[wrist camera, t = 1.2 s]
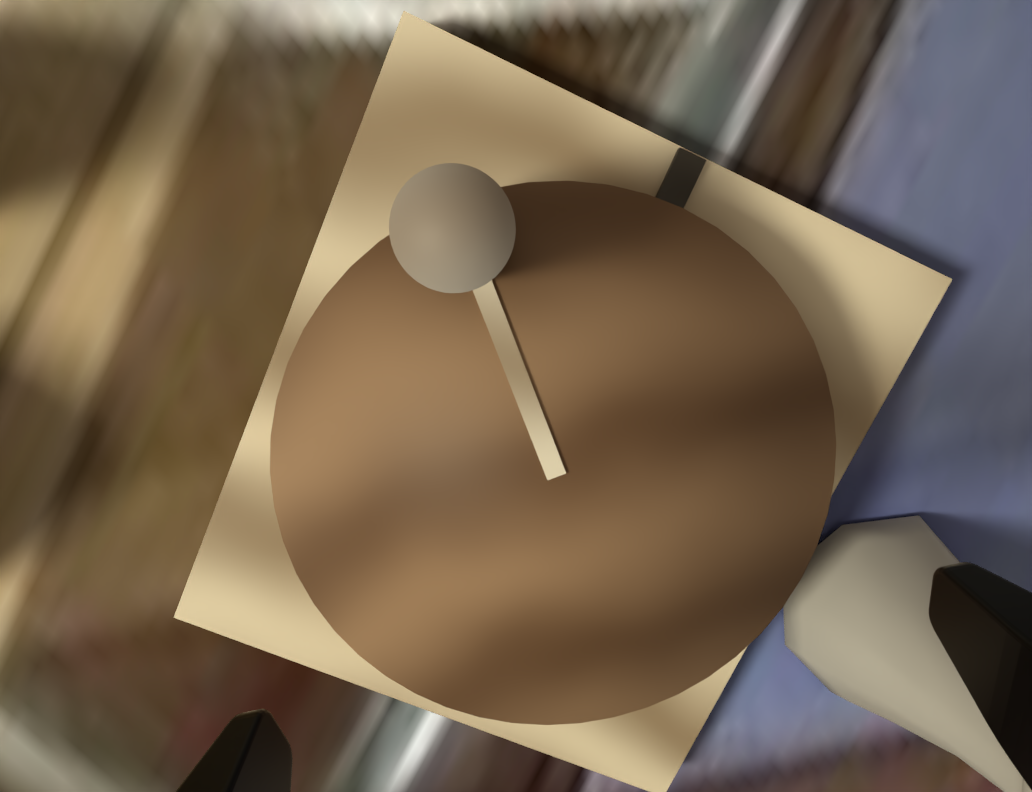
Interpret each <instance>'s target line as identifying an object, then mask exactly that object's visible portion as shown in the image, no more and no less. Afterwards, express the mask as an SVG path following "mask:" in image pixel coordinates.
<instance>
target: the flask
mask: <svg viewBox="0 0 1032 792" xmlns="http://www.w3.org/2000/svg"><path fill="white" fill-rule="evenodd" d="M957 563H960V562H959V561H958V560H957V558H956V557H955V556H954V555H953V554H952V553H951V552H950V550H949V549H948V548H947V547H946V546H945V545H944V543H943V542H942V541H941V540H940V539H939V538H938V537H937V535H936V534H935V533H934V532H933V531H932V530H931V529H930V527H929V526H928V525H927V524H926V523H925V522H924V521H923V519H922V518H921V517H920V516H919V515H918V516H910V517H902V518H894V519H886V520H878V521H870V522H862V523H854V524H846V525H842V526H840V527H839V528H838V529H837V530H836V531H834V532H833V533H832V534H831V535H830V536H828V537H827V538H826V539H825V540H824V541H823V542H821V543H820V544H819V545H818V546H817V547H816V549H815V551H814V554H813V556H812V558H811V560H810V562H809V564H808V566H807V568H806V570H805V572H804V574H803V576H802V578H801V580H800V581H799V583H798V585H797V586H796V588H795V589H794V591H793V592H792V594H791V595H790V597H789V598H788V600H787V601H786V603H785V605H784V606H783V608H784V633H785V645H786V646H787V647H788V648H789V649H790V650H791V651H792V652H793V653H794V654H795V655H796V656H797V657H798V658H799V659H800V660H801V662H802V663H803V664H804V665H805V666H806V667H807V668H808V669H809V670H810V671H811V672H812V673H813V674H814V675H815V676H816V677H817V678H818V679H819V680H820V681H821V682H822V683H823V684H824V685H825V686H826V687H827V688H828V689H829V690H830V691H831V692H832V693H834V694H836V695H838V696H840V697H842V698H844V699H845V700H847V701H850V702H852V703H854V704H856V705H858V706H860V707H862V708H864V709H866V710H869V711H871V712H873V713H875V714H877V715H879V716H881V717H883V718H885V719H888V720H890V721H892V722H894V723H896V724H898V725H900V726H901V727H903V728H905V729H907V730H909V731H911V732H913V733H915V734H916V735H918V736H920V737H922V738H924V739H926V740H928V741H930V742H931V743H933V744H935V745H937V746H939V747H941V748H943V749H945V750H946V751H948V752H950V753H952V754H954V755H956V756H958V757H959V758H960V759H961V760H963V761H964V762H965V763H967V764H968V765H969V766H971V767H972V768H973V769H975V770H976V771H977V772H979V773H980V774H981V775H983V776H984V777H985V778H987V779H988V780H989V781H991V782H992V783H993V784H994V785H996V786H997V787H998V788H1000V789H1001V790H1002V791H1004V792H1032V790H1031V789H1030V787H1029V786H1028V785H1027V783H1026V782H1025V780H1024V779H1023V777H1022V776H1021V775H1020V773H1019V772H1018V770H1017V769H1016V768H1015V766H1014V765H1013V763H1012V762H1011V760H1010V759H1009V757H1008V756H1007V754H1006V753H1005V751H1004V750H1003V748H1002V747H1001V745H1000V744H999V743H998V741H997V739H996V738H995V736H994V734H993V733H992V731H991V729H990V728H989V726H988V724H987V723H986V721H985V719H984V717H983V716H982V714H981V712H980V710H979V709H978V707H977V705H976V703H975V701H974V700H973V698H972V696H971V694H970V693H969V691H968V689H967V687H966V686H965V684H964V682H963V680H962V679H961V677H960V675H959V673H958V672H957V670H956V668H955V666H954V664H953V663H952V661H951V659H950V657H949V656H948V654H947V652H946V650H945V649H944V647H943V645H942V643H941V642H940V640H939V638H938V636H937V635H936V633H935V631H934V629H933V627H932V624H931V622H930V618H929V602H930V595H931V587H932V580H933V574H934V572H935V571H936V569H937V568H939V567H942V566H947V565H952V564H957Z"/></svg>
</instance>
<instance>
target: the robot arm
mask: <svg viewBox="0 0 1032 792" xmlns="http://www.w3.org/2000/svg"><path fill="white" fill-rule="evenodd" d="M929 618H930V622H931V624H932V627H933V629H934V631H935V633H936V635H937V636H938V638H939V640H940V642H941V643H942V645H943V647H944V649H945V650H946V652H947V654H948V656H949V657H950V659H951V661H952V663H953V664H954V666H955V668H956V670H957V672H958V673H959V675H960V677H961V679H962V680H963V682H964V684H965V686H966V687H967V689H968V691H969V693H970V694H971V696H972V698H973V700H974V701H975V703H976V705H977V707H978V709H979V710H980V712H981V714H982V716H983V717H984V719H985V721H986V723H987V724H988V726H989V728H990V729H991V731H992V733H993V734H994V736H995V738H996V739H997V741H998V743H999V744H1000V745H1001V747H1002V748H1003V750H1004V751H1005V753H1006V754H1007V756H1008V757H1009V759H1010V760H1011V762H1012V763H1013V765H1014V766H1015V768H1016V769H1017V770H1018V772H1019V773H1020V775H1021V776H1022V777H1023V779H1024V780H1025V782H1026V783H1027V785H1028V786H1029V787H1030V789H1031V790H1032V593H1031V592H1029V591H1027V590H1025V589H1023V588H1021V587H1019V586H1017V585H1015V584H1013V583H1011V582H1009V581H1008V580H1006V579H1004V578H1002V577H1000V576H998V575H996V574H994V573H992V572H990V571H988V570H986V569H984V568H982V567H980V566H978V565H975V564H973V563H969V562H961V563H957V564H952V565H947V566H942V567H939V568H937V569H936V571H935V572H934V574H933V580H932V587H931V595H930V602H929ZM291 776H292V751H291V747H290V744H289V742H288V740H287V739H286V737H285V735H284V734H283V732H282V730H281V729H280V727H279V726H278V724H277V722H276V721H275V719H274V717H273V716H272V714H271V713H270V712H269V711H267V710H266V709H259V710H254V711H249V712H245V713H241V714H238V715H236V716H235V717H234V718H233V719H232V720H231V721H230V722H229V723H228V724H227V726H226V727H225V728H224V730H223V731H222V732H221V734H220V735H219V736H218V737H217V739H216V740H215V741H214V743H213V744H212V745H211V746H210V748H209V749H208V750H207V752H206V753H205V754H204V756H203V757H202V758H201V759H200V761H199V762H198V763H197V765H196V766H195V767H194V769H193V770H192V771H191V772H190V774H189V775H188V776H187V778H186V779H185V780H184V781H183V783H182V784H181V785H180V787H179V788H178V789H177V791H176V792H290V791H291Z"/></svg>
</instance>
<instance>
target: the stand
mask: <svg viewBox="0 0 1032 792" xmlns="http://www.w3.org/2000/svg"><path fill="white" fill-rule="evenodd" d="M443 163H458V164H464V165H468V166H471V167H474V168H477V169H479V170H481V171H482V172H484V173H486V174H487V175H488V176H490V177H491V178H492V179H493V180H494V181H496V182H497V183H498V184H499V186H500V187H503V186H509V185H514V184H520V183H526V182H544V181H577V182H587V183H597V184H607V185H612V186H616V187H620V188H625V189H629V190H633V191H637V192H641V193H645V194H648V195H651V196H654V197H656V198H659V199H661V200H664V201H666V202H669V203H671V204H674V205H676V206H679V207H681V208H684V209H686V210H687V211H689V212H691V213H693V214H694V215H696V216H698V217H700V218H701V219H703V220H705V221H707V222H709V223H710V224H712V225H714V226H716V227H717V228H719V229H720V230H721V231H723V232H724V233H725V234H726V235H728V236H729V237H730V238H732V239H733V240H734V241H736V242H737V243H738V244H739V245H741V246H742V247H743V248H745V249H746V250H747V251H748V252H749V253H750V254H751V255H752V256H753V257H754V258H755V259H756V260H757V261H758V262H759V263H760V264H761V265H762V266H763V267H764V268H765V269H766V270H767V271H768V272H769V273H770V274H771V275H772V276H773V277H774V278H775V280H776V281H777V282H778V284H779V285H780V286H781V288H782V289H783V291H784V292H785V293H786V295H787V296H788V297H789V299H790V300H791V301H792V303H793V304H794V306H795V307H796V308H797V310H798V312H799V314H800V316H801V318H802V320H803V321H804V323H805V325H806V327H807V329H808V331H809V333H810V334H811V336H812V338H813V340H814V343H815V345H816V348H817V351H818V354H819V356H820V359H821V362H822V364H823V367H824V370H825V373H826V376H827V381H828V385H829V390H830V395H831V399H832V404H833V408H834V420H835V433H836V460H835V476H834V484H833V489H832V494H833V492H834V490H835V489H836V487H837V485H838V483H839V481H840V480H841V478H842V476H843V474H844V473H845V471H846V469H847V467H848V465H849V464H850V462H851V460H852V458H853V456H854V455H855V453H856V451H857V449H858V447H859V446H860V444H861V442H862V440H863V439H864V437H865V435H866V433H867V431H868V430H869V428H870V426H871V424H872V422H873V421H874V419H875V417H876V415H877V413H878V412H879V410H880V408H881V406H882V404H883V403H884V401H885V399H886V397H887V396H888V394H889V392H890V390H891V388H892V387H893V385H894V383H895V381H896V379H897V378H898V376H899V374H900V372H901V370H902V369H903V367H904V365H905V363H906V362H907V360H908V358H909V356H910V354H911V353H912V351H913V349H914V347H915V345H916V344H917V342H918V340H919V338H920V336H921V335H922V333H923V331H924V329H925V327H926V326H927V324H928V322H929V320H930V319H931V317H932V315H933V313H934V311H935V310H936V308H937V306H938V304H939V302H940V301H941V299H942V297H943V295H944V293H945V292H946V290H947V288H948V286H949V285H950V283H951V281H952V279H951V278H949V277H947V276H945V275H943V274H940V273H938V272H936V271H934V270H932V269H930V268H928V267H926V266H924V265H922V264H920V263H918V262H916V261H914V260H912V259H910V258H908V257H906V256H904V255H902V254H900V253H898V252H896V251H893V250H891V249H889V248H887V247H885V246H883V245H881V244H879V243H877V242H875V241H873V240H871V239H869V238H867V237H865V236H863V235H861V234H859V233H857V232H855V231H853V230H851V229H849V228H846V227H844V226H842V225H840V224H838V223H836V222H834V221H832V220H830V219H828V218H826V217H824V216H822V215H820V214H818V213H816V212H814V211H812V210H810V209H808V208H806V207H804V206H802V205H799V204H797V203H795V202H793V201H791V200H789V199H787V198H785V197H783V196H781V195H779V194H777V193H775V192H773V191H771V190H769V189H767V188H765V187H763V186H761V185H759V184H757V183H755V182H752V181H750V180H748V179H746V178H744V177H742V176H740V175H738V174H736V173H734V172H732V171H730V170H728V169H726V168H724V167H722V166H720V165H718V164H716V163H714V162H712V161H710V160H708V159H705V158H703V157H701V156H699V155H697V154H695V153H693V152H691V151H689V150H687V149H685V148H683V147H681V146H679V145H677V144H675V143H673V142H671V141H669V140H667V139H665V138H663V137H661V136H658V135H656V134H654V133H652V132H650V131H648V130H646V129H644V128H642V127H640V126H638V125H636V124H634V123H632V122H630V121H628V120H626V119H624V118H622V117H620V116H618V115H616V114H614V113H611V112H609V111H607V110H605V109H603V108H601V107H599V106H597V105H595V104H593V103H591V102H589V101H587V100H585V99H583V98H581V97H579V96H577V95H575V94H573V93H571V92H569V91H567V90H564V89H562V88H560V87H558V86H556V85H554V84H552V83H550V82H548V81H546V80H544V79H542V78H540V77H538V76H536V75H534V74H532V73H530V72H528V71H526V70H524V69H522V68H520V67H517V66H515V65H513V64H511V63H509V62H507V61H505V60H503V59H501V58H499V57H497V56H495V55H493V54H491V53H489V52H487V51H485V50H483V49H481V48H479V47H477V46H475V45H473V44H470V43H468V42H466V41H464V40H462V39H460V38H458V37H456V36H454V35H452V34H450V33H448V32H446V31H444V30H442V29H440V28H438V27H436V26H434V25H432V24H430V23H428V22H426V21H423V20H421V19H419V18H417V17H415V16H413V15H411V14H409V13H407V12H405V11H404V12H403V14H402V17H401V19H400V22H399V25H398V27H397V30H396V33H395V35H394V38H393V41H392V43H391V46H390V48H389V51H388V54H387V56H386V59H385V62H384V64H383V67H382V70H381V72H380V75H379V77H378V80H377V83H376V85H375V88H374V91H373V93H372V96H371V99H370V101H369V104H368V106H367V109H366V112H365V114H364V117H363V120H362V122H361V125H360V128H359V130H358V133H357V135H356V138H355V141H354V143H353V146H352V149H351V151H350V154H349V157H348V159H347V162H346V164H345V167H344V170H343V172H342V175H341V178H340V180H339V183H338V186H337V188H336V191H335V193H334V196H333V199H332V201H331V204H330V207H329V209H328V212H327V215H326V217H325V220H324V222H323V225H322V228H321V230H320V233H319V236H318V238H317V241H316V244H315V246H314V249H313V251H312V254H311V257H310V259H309V262H308V265H307V267H306V270H305V273H304V275H303V278H302V280H301V283H300V286H299V288H298V291H297V294H296V296H295V299H294V302H293V304H292V307H291V310H290V312H289V315H288V317H287V320H286V323H285V325H284V328H283V331H282V333H281V336H280V339H279V341H278V344H277V346H276V349H275V352H274V354H273V357H272V360H271V362H270V365H269V368H268V370H267V373H266V375H265V378H264V381H263V383H262V386H261V389H260V391H259V394H258V397H257V399H256V402H255V404H254V407H253V410H252V412H251V415H250V418H249V420H248V423H247V426H246V428H245V431H244V433H243V436H242V439H241V441H240V444H239V447H238V449H237V452H236V455H235V457H234V460H233V462H232V465H231V468H230V470H229V473H228V476H227V478H226V481H225V484H224V486H223V489H222V491H221V494H220V497H219V499H218V502H217V505H216V507H215V510H214V513H213V515H212V518H211V520H210V523H209V526H208V528H207V531H206V534H205V536H204V539H203V542H202V544H201V547H200V549H199V552H198V555H197V557H196V560H195V563H194V565H193V568H192V571H191V573H190V576H189V578H188V581H187V584H186V586H185V589H184V592H183V594H182V597H181V600H180V602H179V605H178V607H177V610H176V613H175V615H174V618H177V619H179V620H182V621H185V622H187V623H190V624H193V625H196V626H198V627H201V628H204V629H207V630H209V631H212V632H215V633H218V634H220V635H223V636H226V637H228V638H231V639H234V640H237V641H239V642H242V643H245V644H248V645H250V646H253V647H256V648H259V649H261V650H264V651H267V652H269V653H272V654H275V655H278V656H280V657H283V658H286V659H289V660H291V661H294V662H297V663H300V664H302V665H305V666H308V667H310V668H313V669H316V670H319V671H321V672H324V673H327V674H330V675H332V676H335V677H338V678H341V679H343V680H346V681H349V682H351V683H354V684H357V685H360V686H362V687H365V688H368V689H371V690H373V691H376V692H379V693H382V694H384V695H387V696H390V697H392V698H395V699H398V700H401V701H403V702H406V703H409V704H412V705H414V706H417V707H420V708H423V709H425V710H428V711H431V712H433V713H436V714H439V715H442V716H444V717H447V718H450V719H453V720H455V721H458V722H461V723H464V724H466V725H469V726H472V727H474V728H477V729H480V730H483V731H485V732H488V733H491V734H494V735H496V736H499V737H502V738H505V739H507V740H510V741H513V742H515V743H518V744H521V745H524V746H526V747H529V748H532V749H535V750H537V751H540V752H543V753H545V754H548V755H551V756H554V757H556V758H559V759H562V760H565V761H567V762H570V763H573V764H576V765H578V766H581V767H584V768H586V769H589V770H592V771H595V772H597V773H600V774H603V775H606V776H608V777H611V778H614V779H617V780H619V781H622V782H625V783H627V784H630V785H633V786H636V787H638V788H641V789H644V790H647V791H649V792H666V791H667V789H668V788H669V786H670V784H671V782H672V781H673V779H674V777H675V775H676V773H677V772H678V770H679V768H680V766H681V764H682V763H683V761H684V759H685V757H686V755H687V754H688V752H689V750H690V748H691V746H692V745H693V743H694V741H695V739H696V738H697V736H698V734H699V732H700V730H701V729H702V727H703V725H704V723H705V721H706V720H707V718H708V716H709V714H710V712H711V711H712V709H713V707H714V705H715V704H716V702H717V700H718V698H719V696H720V695H721V693H722V691H723V689H724V687H725V686H726V684H727V682H728V680H729V678H730V677H731V675H732V673H733V671H734V669H735V668H736V666H737V664H738V662H739V661H740V659H741V657H742V655H743V653H744V652H745V650H746V648H747V647H746V648H745V649H744V650H743V651H742V652H741V653H739V654H738V655H737V656H736V657H735V658H734V659H732V660H731V661H730V662H728V663H727V664H726V665H724V666H723V667H721V668H720V669H719V670H717V671H716V672H715V673H713V674H712V675H711V676H709V677H708V678H706V679H704V680H703V681H701V682H699V683H697V684H696V685H694V686H692V687H690V688H689V689H687V690H685V691H683V692H681V693H680V694H678V695H676V696H673V697H671V698H668V699H666V700H664V701H661V702H659V703H657V704H654V705H652V706H650V707H647V708H644V709H641V710H637V711H634V712H631V713H627V714H624V715H620V716H617V717H613V718H607V719H602V720H596V721H590V722H584V723H575V724H557V725H536V724H519V723H509V722H503V721H498V720H492V719H486V718H481V717H477V716H473V715H470V714H467V713H463V712H460V711H457V710H454V709H450V708H447V707H444V706H442V705H440V704H438V703H435V702H433V701H431V700H429V699H426V698H424V697H422V696H419V695H417V694H415V693H413V692H412V691H410V690H408V689H407V688H405V687H403V686H401V685H400V684H398V683H396V682H395V681H393V680H391V679H390V678H388V677H386V676H385V675H384V674H382V673H381V672H380V671H378V670H377V669H376V668H375V667H373V666H372V665H371V664H369V663H368V662H367V661H366V660H364V659H363V658H362V657H360V656H359V655H358V654H357V653H356V652H355V651H354V650H353V649H352V648H351V647H350V646H349V645H348V644H347V643H346V642H345V641H344V640H343V639H342V638H341V637H340V636H339V635H338V634H337V633H336V632H335V631H334V630H333V628H332V627H331V626H330V624H329V623H328V622H327V620H326V619H325V618H324V617H323V615H322V614H321V613H320V611H319V610H318V609H317V607H316V606H315V605H314V603H313V602H312V600H311V598H310V597H309V595H308V593H307V591H306V590H305V588H304V586H303V584H302V583H301V581H300V579H299V578H298V576H297V574H296V572H295V569H294V567H293V564H292V562H291V560H290V557H289V555H288V552H287V550H286V547H285V545H284V543H283V539H282V536H281V532H280V528H279V524H278V520H277V516H276V513H275V509H274V502H273V494H272V485H271V477H270V440H271V430H272V424H273V417H274V411H275V405H276V399H277V396H278V392H279V389H280V386H281V383H282V379H283V376H284V373H285V370H286V366H287V363H288V361H289V359H290V357H291V355H292V352H293V350H294V348H295V346H296V344H297V342H298V340H299V337H300V335H301V333H302V331H303V329H304V327H305V326H306V324H307V323H308V321H309V320H310V318H311V317H312V315H313V314H314V312H315V310H316V309H317V307H318V306H319V304H320V303H321V301H322V300H323V298H324V297H325V295H326V294H327V293H328V292H329V291H330V290H331V288H332V287H333V286H334V285H335V284H336V283H337V282H338V280H339V279H340V278H341V277H342V276H343V275H344V273H345V272H346V271H347V270H348V269H349V268H350V267H351V266H352V265H353V264H354V263H355V262H356V261H358V260H359V259H360V258H361V257H362V256H363V255H364V254H365V253H367V252H368V251H369V250H370V249H371V248H372V247H373V246H375V245H376V244H377V243H378V242H379V241H380V240H382V239H384V238H385V237H387V236H388V235H389V218H390V212H391V209H392V205H393V202H394V200H395V198H396V196H397V194H398V193H399V191H400V190H401V188H402V187H403V186H404V185H405V183H406V182H407V181H408V180H409V179H410V178H412V177H413V176H414V175H415V174H417V173H418V172H420V171H422V170H424V169H426V168H428V167H431V166H434V165H438V164H443ZM832 494H831V496H832Z"/></svg>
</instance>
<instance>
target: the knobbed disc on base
mask: <svg viewBox="0 0 1032 792" xmlns="http://www.w3.org/2000/svg"><path fill="white" fill-rule="evenodd" d="M835 460H836V433H835V420H834V408H833V404H832V399H831V395H830V390H829V385H828V381H827V376H826V373H825V370H824V367H823V364H822V362H821V359H820V356H819V354H818V351H817V348H816V345H815V343H814V340H813V338H812V336H811V334H810V333H809V331H808V329H807V327H806V325H805V323H804V321H803V320H802V318H801V316H800V314H799V312H798V310H797V308H796V307H795V306H794V304H793V303H792V301H791V300H790V299H789V297H788V296H787V295H786V293H785V292H784V291H783V289H782V288H781V286H780V285H779V284H778V282H777V281H776V280H775V278H774V277H773V276H772V275H771V274H770V273H769V272H768V271H767V270H766V269H765V268H764V267H763V266H762V265H761V264H760V263H759V262H758V261H757V260H756V259H755V258H754V257H753V256H752V255H751V254H750V253H749V252H748V251H747V250H746V249H745V248H743V247H742V246H741V245H739V244H738V243H737V242H736V241H734V240H733V239H732V238H730V237H729V236H728V235H726V234H725V233H724V232H723V231H721V230H720V229H719V228H717V227H716V226H714V225H712V224H710V223H709V222H707V221H705V220H703V219H701V218H700V217H698V216H696V215H694V214H693V213H691V212H689V211H687V210H686V209H684V208H681V207H679V206H676V205H674V204H671V203H669V202H666V201H664V200H661V199H659V198H656V197H654V196H651V195H648V194H645V193H641V192H637V191H633V190H629V189H625V188H620V187H616V186H612V185H607V184H597V183H587V182H577V181H544V182H526V183H520V184H514V185H509V186H503V187H500V186H499V184H498V183H497V182H496V181H494V180H493V179H492V178H491V177H490V176H488V175H487V174H486V173H484V172H482V171H481V170H479V169H477V168H474V167H471V166H468V165H464V164H458V163H443V164H438V165H434V166H431V167H428V168H426V169H424V170H422V171H420V172H418V173H417V174H415V175H414V176H413V177H412V178H410V179H409V180H408V181H407V182H406V183H405V185H404V186H403V187H402V188H401V190H400V191H399V193H398V194H397V196H396V198H395V200H394V202H393V205H392V209H391V212H390V218H389V235H388V236H387V237H385V238H384V239H382V240H380V241H379V242H378V243H377V244H376V245H375V246H373V247H372V248H371V249H370V250H369V251H368V252H367V253H365V254H364V255H363V256H362V257H361V258H360V259H359V260H358V261H356V262H355V263H354V264H353V265H352V266H351V267H350V268H349V269H348V270H347V271H346V272H345V273H344V275H343V276H342V277H341V278H340V279H339V280H338V282H337V283H336V284H335V285H334V286H333V287H332V288H331V290H330V291H329V292H328V293H327V294H326V295H325V297H324V298H323V300H322V301H321V303H320V304H319V306H318V307H317V309H316V310H315V312H314V314H313V315H312V317H311V318H310V320H309V321H308V323H307V324H306V326H305V327H304V329H303V331H302V333H301V335H300V337H299V340H298V342H297V344H296V346H295V348H294V350H293V352H292V355H291V357H290V359H289V361H288V363H287V366H286V370H285V373H284V376H283V379H282V383H281V386H280V389H279V392H278V396H277V399H276V405H275V411H274V417H273V424H272V430H271V440H270V477H271V485H272V494H273V502H274V509H275V513H276V516H277V520H278V524H279V528H280V532H281V536H282V539H283V543H284V545H285V547H286V550H287V552H288V555H289V557H290V560H291V562H292V564H293V567H294V569H295V572H296V574H297V576H298V578H299V579H300V581H301V583H302V584H303V586H304V588H305V590H306V591H307V593H308V595H309V597H310V598H311V600H312V602H313V603H314V605H315V606H316V607H317V609H318V610H319V611H320V613H321V614H322V615H323V617H324V618H325V619H326V620H327V622H328V623H329V624H330V626H331V627H332V628H333V630H334V631H335V632H336V633H337V634H338V635H339V636H340V637H341V638H342V639H343V640H344V641H345V642H346V643H347V644H348V645H349V646H350V647H351V648H352V649H353V650H354V651H355V652H356V653H357V654H358V655H359V656H360V657H362V658H363V659H364V660H366V661H367V662H368V663H369V664H371V665H372V666H373V667H375V668H376V669H377V670H378V671H380V672H381V673H382V674H384V675H385V676H386V677H388V678H390V679H391V680H393V681H395V682H396V683H398V684H400V685H401V686H403V687H405V688H407V689H408V690H410V691H412V692H413V693H415V694H417V695H419V696H422V697H424V698H426V699H429V700H431V701H433V702H435V703H438V704H440V705H442V706H444V707H447V708H450V709H454V710H457V711H460V712H463V713H467V714H470V715H473V716H477V717H481V718H486V719H492V720H498V721H503V722H509V723H519V724H536V725H557V724H575V723H584V722H590V721H596V720H602V719H607V718H613V717H617V716H620V715H624V714H627V713H631V712H634V711H637V710H641V709H644V708H647V707H650V706H652V705H654V704H657V703H659V702H661V701H664V700H666V699H668V698H671V697H673V696H676V695H678V694H680V693H681V692H683V691H685V690H687V689H689V688H690V687H692V686H694V685H696V684H697V683H699V682H701V681H703V680H704V679H706V678H708V677H709V676H711V675H712V674H713V673H715V672H716V671H717V670H719V669H720V668H721V667H723V666H724V665H726V664H727V663H728V662H730V661H731V660H732V659H734V658H735V657H736V656H737V655H738V654H739V653H741V652H742V651H743V650H744V649H745V648H746V647H747V646H748V645H749V644H750V643H751V642H752V641H753V640H754V639H755V638H757V637H758V636H759V635H760V634H761V633H762V631H763V630H764V629H765V628H766V627H767V625H768V624H769V623H770V622H771V621H772V619H773V618H774V617H775V616H776V615H777V614H778V612H779V611H780V610H781V609H782V608H783V606H784V605H785V603H786V601H787V600H788V598H789V597H790V595H791V594H792V592H793V591H794V589H795V588H796V586H797V585H798V583H799V581H800V580H801V578H802V576H803V574H804V572H805V570H806V568H807V566H808V564H809V562H810V560H811V558H812V556H813V554H814V551H815V549H816V547H817V544H818V541H819V538H820V535H821V532H822V529H823V526H824V523H825V520H826V518H827V515H828V510H829V504H830V499H831V494H832V489H833V484H834V476H835Z"/></svg>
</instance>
